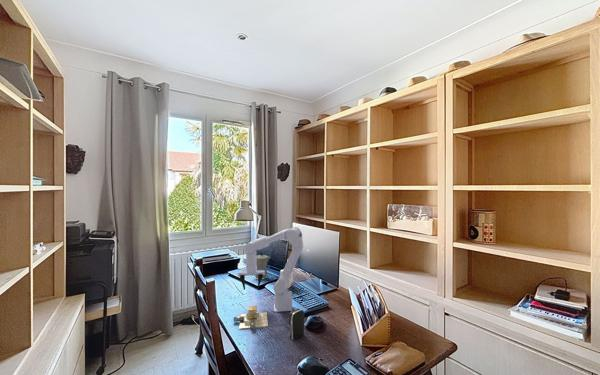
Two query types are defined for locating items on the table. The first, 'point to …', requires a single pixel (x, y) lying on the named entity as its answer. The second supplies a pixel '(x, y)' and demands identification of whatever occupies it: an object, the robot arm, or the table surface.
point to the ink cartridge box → (289, 278)
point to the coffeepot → (262, 264)
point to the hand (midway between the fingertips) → (251, 288)
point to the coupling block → (252, 313)
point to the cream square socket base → (252, 321)
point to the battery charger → (296, 323)
